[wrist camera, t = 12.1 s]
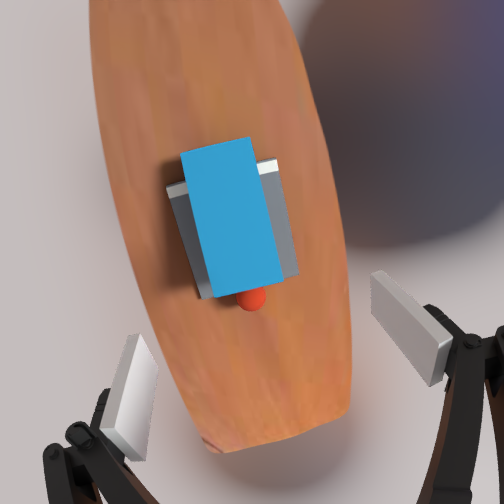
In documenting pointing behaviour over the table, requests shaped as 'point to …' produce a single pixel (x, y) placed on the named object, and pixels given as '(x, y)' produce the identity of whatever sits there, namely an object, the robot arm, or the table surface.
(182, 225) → the mat
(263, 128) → the table surface
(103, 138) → the table surface
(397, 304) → the robot arm
